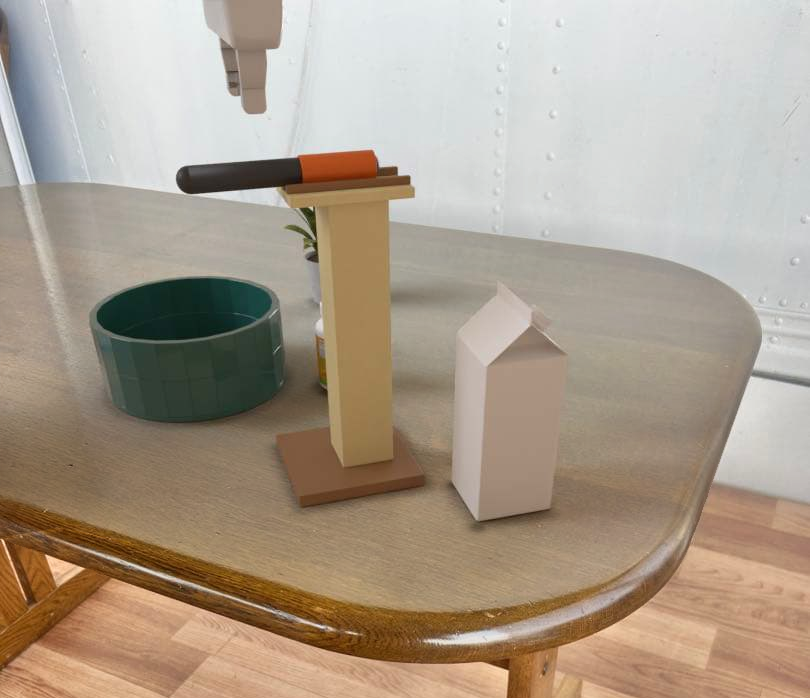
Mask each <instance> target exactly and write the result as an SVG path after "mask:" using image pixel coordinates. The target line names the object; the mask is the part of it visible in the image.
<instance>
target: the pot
mask: <svg viewBox="0 0 810 698" xmlns="http://www.w3.org/2000/svg"><path fill="white" fill-rule="evenodd" d="M280 304H281V303H280V300H279V297H278V296H277V294H276V292H275V291H274V290H272V289H271V288H269V287H268V286H266V285H264V284H262V283H259V282H256V281H253V280H249V279H243V278H238V277H232V276H219V275H194V276H193V275H189V276H179V277H169V278H162V279H157V280H153V281H147V282H143V283H139V284H136V285H132V286H129V287H126V288H125V287H124V288H122V289H121V290H119V291H116V292H114V293H112V294H109V295H108V296H106V297H104V298H103V299H101V300H100V301H98V302H96V304H95V305H94V306H93V308H92V309H91V310H90V312H89V313H88V324H89V328H90V332H91V335H92V339H93V343H94V348H95V351H96V356H97V358H98V363H99V368H100V371H101V376H102V380H103V384H104V387H105V391H106V394H107V397H108V399H109V401H110V403H111V404H112V405H113V406H114V407H115V408H116V409H118V410H120V411H121V412H123V413H125V414H127V415H129V416H132V417H135V418H139V419H144V420H147V421H155V422H163V423H190V422H191V423H192V422H194V423H195V422H204V421H210V420H216V419H221V418H225V417H230V416H234V415H237V414H239V413H243V412H245V411H249V410H250V409H253V408H256V407H257V406H259V405H261V404H264V403H265V402H267V401H269V400H270V399H271V398H273V397H274V396H275V395H277V393H278V392H280V390H281V389H282V388H283V386H284V384H285V382H286V379H287V364H286V355H285V344H284V335H283V334H284V333H283V324H282V323H283V322H282V314H281V305H280Z"/></svg>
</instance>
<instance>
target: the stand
mask: <svg viewBox="0 0 810 698" xmlns="http://www.w3.org/2000/svg"><path fill="white" fill-rule="evenodd" d="M411 178H412V177H411V175H410V174H405V175H399V168H398V166H396V165H391V166H380V169H379V172H378V174H377V177H376V178H366V179H353V180H341V181H328V182H316V183H304V184H291V185H286V186H285V187H275V189H276V192H277V193H278V194H279V196H280V197H281V198H282V199H283V200H284V202H285V204H287V206H288V207H289V208H290V209H291V210H292V209H293V210H294V209H299V208H305V207H309V208H313V207H315V213H316V228H317V242H318V257H319V271H320V286H321V301H322V315H323V330H324V344H325V359H326V373H327V388H328V390H327V400H328V401H327V402H328V416H329V417H328V418H329V426H325V427H319V428H312V429H305V430H299V431H292V432H287V433H279V434H275V444H276V448H277V450H278V452H279V455H280V458H281V460H282V463H283V465H284V468H285V471H286V474H287V476H288V479H289V481H290V484H291V486H292V488H293V491H294V494H295V497H296V500H297V501H298V505H299V507H300V508H303V507H308V506H316V505H320V504H326V503H332V502H338V501H343V500H348V499H354V498H360V497H364V496H365V497H366V496H371V495H376V494H381V493H388V492H392V491H393V492H394V491H398V490H405V489H411V488H415V487H421V486H425V473H424V472H423V470H422V469H421V467H420V465H419V464H418V462H417V461H416V458H415V457H414V456H413V454H412V452H411V451H410V450H409V448H408V446H407V445H406V444H405V442H404V440H403V439H402V437H401V435H400V434H399V433H398V431H397V430H396V428H395V426H394V425H393V420H394V419H393V418H394V417H393V369H392V366H393V365H392V363H393V362H392V311H391V309H392V305H391V249H390V247H391V245H390V201H394V200H395V201H396V200H407V199H415V198H416V187H415V186H414V185H412V184H411V183H412V182H411V181H412V180H411Z"/></svg>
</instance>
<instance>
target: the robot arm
mask: <svg viewBox="0 0 810 698" xmlns="http://www.w3.org/2000/svg"><path fill="white" fill-rule="evenodd" d="M201 1H202V9H203V15H204V16H203V17H204V20H205V24H206V27H207V28H208V29H209V30H210V31H211V32H213V33H215V35H217V36H218V44H219V50H220V54H221V59H222V64H223V67H224V73H225V81H226V89H227V92H228V93H229V94H230V95H231V96H232V97H240V105H241V108H242V110H243V111H244V112H245V113H246V114H247V115H263V114H265V112H266V111H267V93H266V83H267V72H268V71H267V69H268V59H267V50H277V49H279V48H280V46H281V42H282V37H283V31H284V30H283V29H284V0H201Z"/></svg>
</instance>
